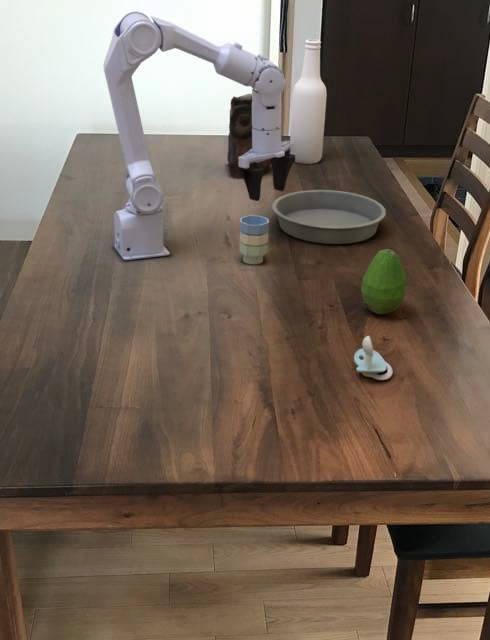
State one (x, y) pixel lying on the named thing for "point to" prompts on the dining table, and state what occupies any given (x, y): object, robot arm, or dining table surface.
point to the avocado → (384, 283)
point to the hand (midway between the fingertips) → (266, 194)
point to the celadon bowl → (253, 253)
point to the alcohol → (308, 108)
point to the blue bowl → (254, 225)
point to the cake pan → (328, 216)
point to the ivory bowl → (253, 239)
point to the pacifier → (371, 362)
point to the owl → (241, 134)
